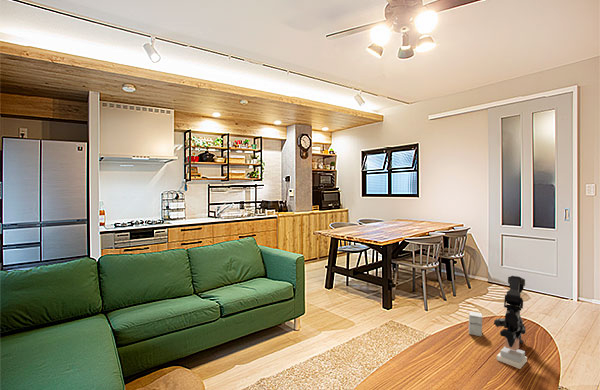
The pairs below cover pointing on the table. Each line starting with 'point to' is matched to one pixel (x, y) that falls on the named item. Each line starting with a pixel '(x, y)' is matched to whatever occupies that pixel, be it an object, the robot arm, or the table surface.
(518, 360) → the tower top
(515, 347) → the cube
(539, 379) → the table surface
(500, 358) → the tower base
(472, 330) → the supplement box
